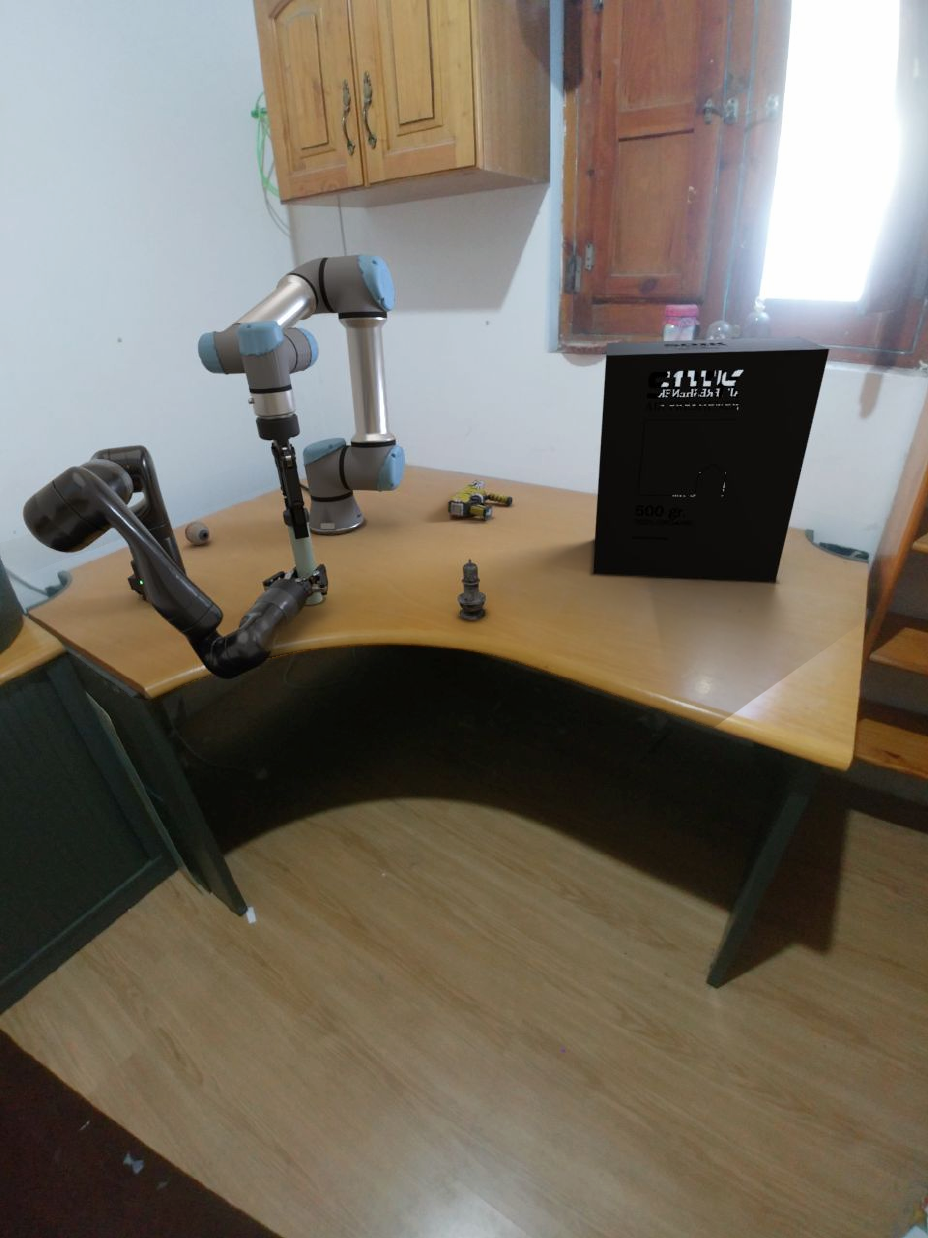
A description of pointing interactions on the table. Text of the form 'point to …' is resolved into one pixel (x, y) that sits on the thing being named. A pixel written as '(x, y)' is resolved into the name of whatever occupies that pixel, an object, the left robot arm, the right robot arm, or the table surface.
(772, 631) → the table surface
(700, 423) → the black angular block
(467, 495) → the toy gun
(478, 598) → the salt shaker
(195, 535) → the eyeball
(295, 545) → the bottle
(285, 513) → the lid
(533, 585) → the table surface
